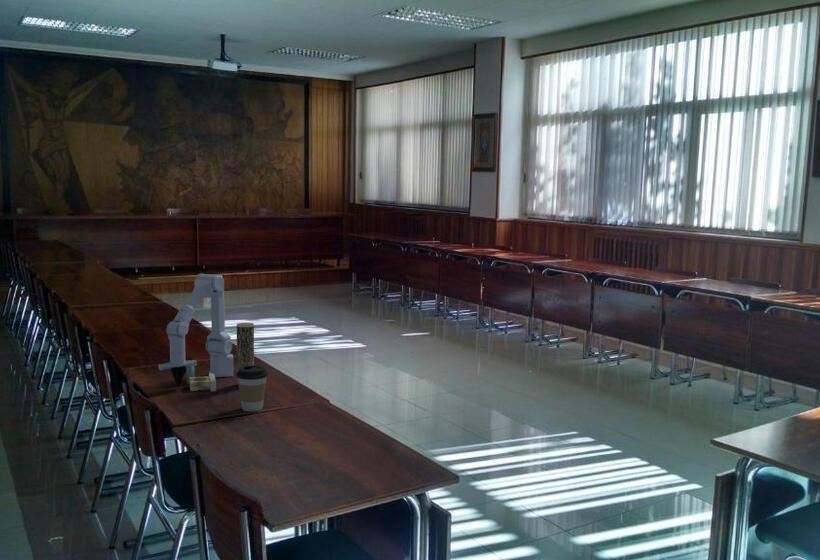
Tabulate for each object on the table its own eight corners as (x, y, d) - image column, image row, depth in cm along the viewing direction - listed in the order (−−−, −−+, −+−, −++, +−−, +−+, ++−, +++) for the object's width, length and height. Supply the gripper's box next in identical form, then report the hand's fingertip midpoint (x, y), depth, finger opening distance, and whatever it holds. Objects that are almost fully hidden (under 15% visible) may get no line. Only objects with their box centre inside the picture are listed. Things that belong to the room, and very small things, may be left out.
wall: (214, 382, 302) (213, 373, 302) (216, 391, 291) (215, 381, 290) (208, 383, 302) (208, 373, 301) (210, 391, 290) (210, 381, 290)
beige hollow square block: (209, 384, 300) (209, 376, 299) (210, 389, 292) (210, 381, 292) (189, 385, 297) (189, 377, 297) (190, 391, 290) (190, 382, 290)
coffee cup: (251, 402, 278) (251, 363, 276) (274, 407, 272) (274, 367, 270) (229, 409, 268) (229, 369, 266) (253, 415, 262) (252, 374, 260)
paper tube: (256, 383, 303) (256, 323, 300) (251, 387, 297) (250, 326, 293) (240, 382, 304) (239, 322, 301) (234, 386, 297) (234, 325, 294)
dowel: (194, 381, 303) (194, 362, 302) (194, 383, 300) (194, 364, 299) (186, 382, 302) (186, 363, 301) (187, 384, 299) (186, 365, 298)
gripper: (192, 347, 298) (193, 380, 299) (155, 351, 289) (156, 385, 291) (198, 351, 292) (199, 384, 294) (161, 355, 284) (162, 390, 285)
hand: (178, 385), depth 292 cm, fingers closed
